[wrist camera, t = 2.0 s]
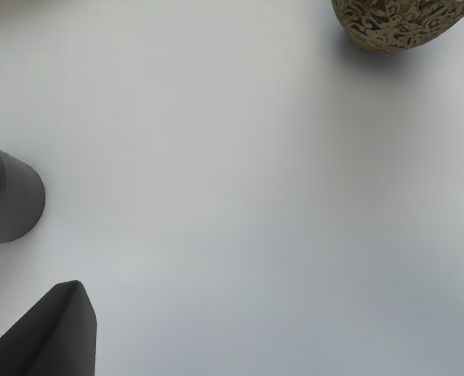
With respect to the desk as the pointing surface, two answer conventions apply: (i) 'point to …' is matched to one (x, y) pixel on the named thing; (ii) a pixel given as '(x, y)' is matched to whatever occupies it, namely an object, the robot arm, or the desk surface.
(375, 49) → the cup
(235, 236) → the desk surface
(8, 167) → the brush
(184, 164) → the desk surface
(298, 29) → the desk surface
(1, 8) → the desk surface
